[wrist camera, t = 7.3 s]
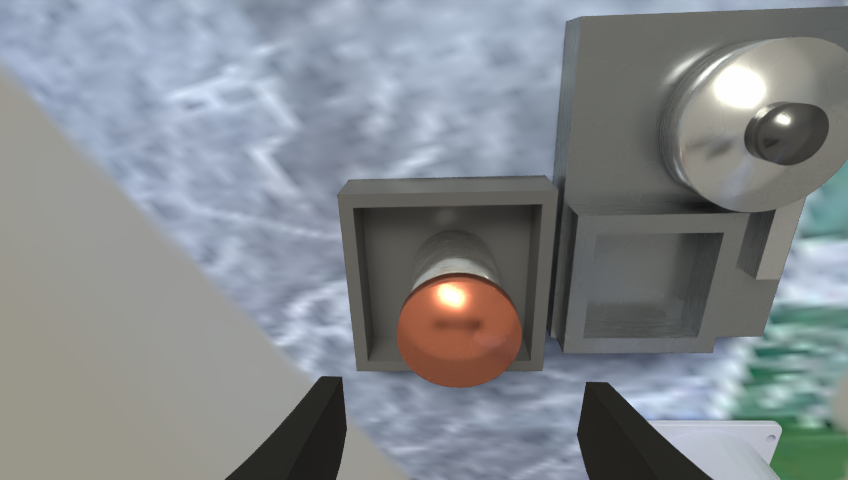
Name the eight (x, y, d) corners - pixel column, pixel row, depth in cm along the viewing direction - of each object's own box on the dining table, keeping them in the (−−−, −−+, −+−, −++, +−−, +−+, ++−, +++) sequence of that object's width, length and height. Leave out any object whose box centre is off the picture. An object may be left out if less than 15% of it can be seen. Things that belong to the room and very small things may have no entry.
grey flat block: (735, 313, 22) (812, 379, 18) (541, 315, 23) (567, 379, 18) (820, 11, 17) (961, -8, 12) (566, 21, 18) (611, 6, 13)
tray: (532, 340, 23) (542, 370, 21) (365, 341, 24) (356, 371, 22) (544, 175, 20) (558, 190, 18) (348, 179, 20) (337, 194, 18)
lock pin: (499, 306, 22) (518, 387, 17) (410, 307, 22) (400, 387, 17) (501, 222, 20) (524, 281, 15) (405, 224, 21) (392, 284, 15)
